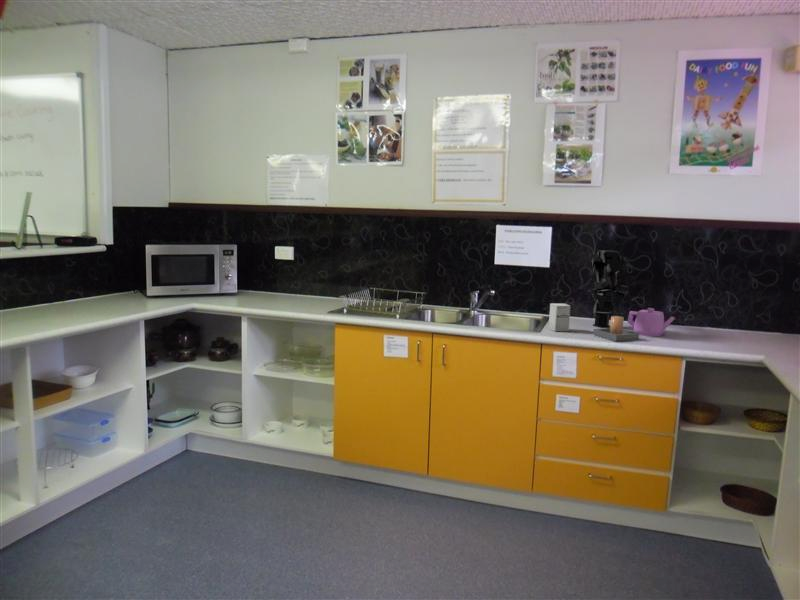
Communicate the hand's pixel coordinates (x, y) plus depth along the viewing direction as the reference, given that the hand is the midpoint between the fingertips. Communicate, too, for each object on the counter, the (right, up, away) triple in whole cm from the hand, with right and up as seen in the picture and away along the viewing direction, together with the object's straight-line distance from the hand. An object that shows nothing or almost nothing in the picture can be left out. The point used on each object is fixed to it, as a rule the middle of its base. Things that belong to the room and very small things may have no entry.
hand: (608, 308), depth 297 cm
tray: (0, -13, -9) cm, 16 cm away
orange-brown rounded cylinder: (0, -13, -9) cm, 16 cm away
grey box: (-23, -11, +5) cm, 26 cm away
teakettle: (+20, -12, +2) cm, 24 cm away
